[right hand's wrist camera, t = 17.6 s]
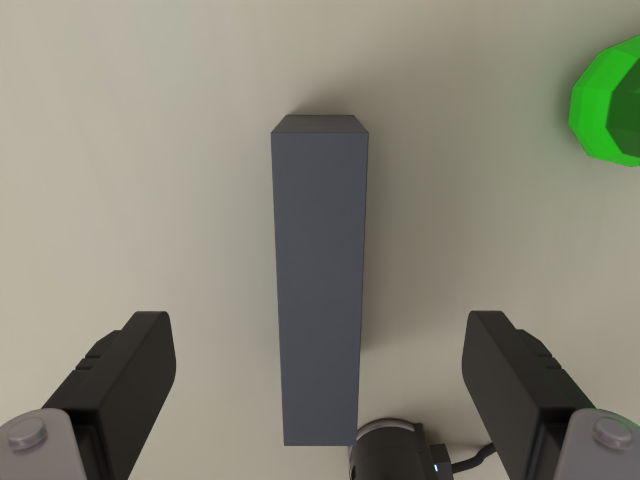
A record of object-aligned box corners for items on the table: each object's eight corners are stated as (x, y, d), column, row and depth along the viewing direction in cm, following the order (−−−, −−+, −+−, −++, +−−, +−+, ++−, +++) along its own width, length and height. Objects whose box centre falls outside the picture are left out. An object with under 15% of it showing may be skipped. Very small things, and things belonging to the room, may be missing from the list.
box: (285, 115, 37) (270, 132, 26) (354, 115, 37) (368, 132, 26) (292, 356, 46) (283, 446, 35) (347, 356, 46) (356, 446, 35)
